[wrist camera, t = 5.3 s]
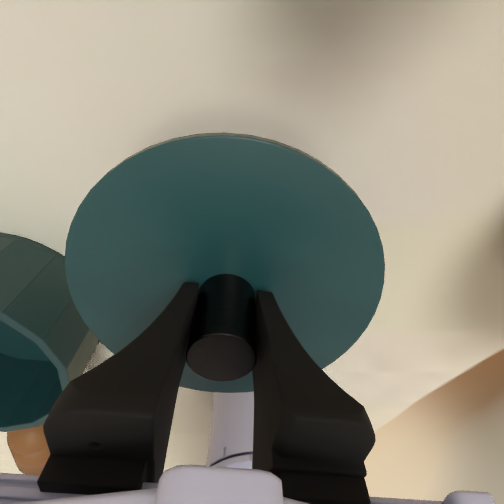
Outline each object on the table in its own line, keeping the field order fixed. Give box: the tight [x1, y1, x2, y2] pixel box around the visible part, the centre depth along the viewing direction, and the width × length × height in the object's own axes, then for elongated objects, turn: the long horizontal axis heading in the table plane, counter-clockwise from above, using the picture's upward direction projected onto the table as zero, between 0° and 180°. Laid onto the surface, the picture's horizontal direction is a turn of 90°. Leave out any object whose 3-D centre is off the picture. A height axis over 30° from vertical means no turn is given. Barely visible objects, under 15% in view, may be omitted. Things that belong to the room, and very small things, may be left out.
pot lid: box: [65, 133, 385, 393], centre depth 14 cm, size 14×14×5 cm
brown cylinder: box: [7, 424, 50, 476], centre depth 33 cm, size 8×5×5 cm, turn 171°
